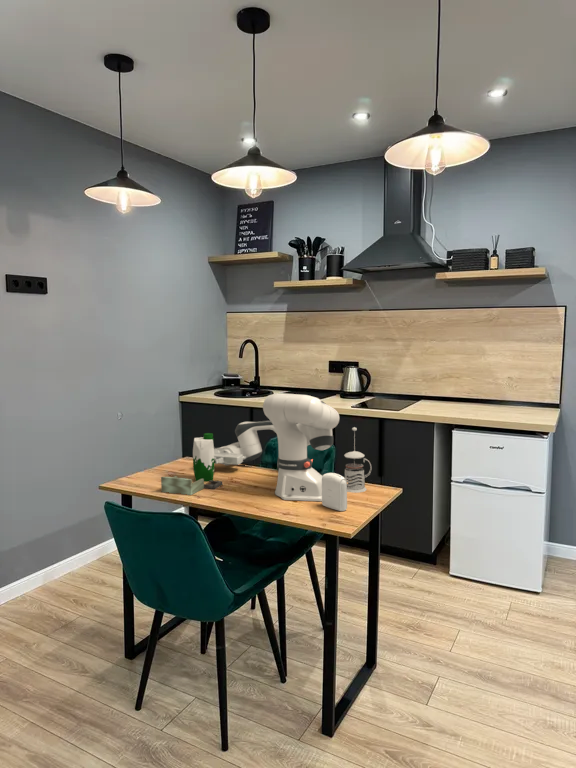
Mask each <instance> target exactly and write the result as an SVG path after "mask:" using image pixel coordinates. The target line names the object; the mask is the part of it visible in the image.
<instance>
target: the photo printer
mask: <svg viewBox="0 0 576 768" xmlns="http://www.w3.org/2000/svg"><path fill="white" fill-rule="evenodd" d="M322 476H323V477H322V501H321V505H322V506H324V507H326V508H329V509H332V510H335V511H340V512H344V511H347V509H348V492H347V484H348V482H347V481H348V480H347V481H346V479H345V476H343V475H341V474H339V473H335V472H327V473H324V474H322Z"/></svg>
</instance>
